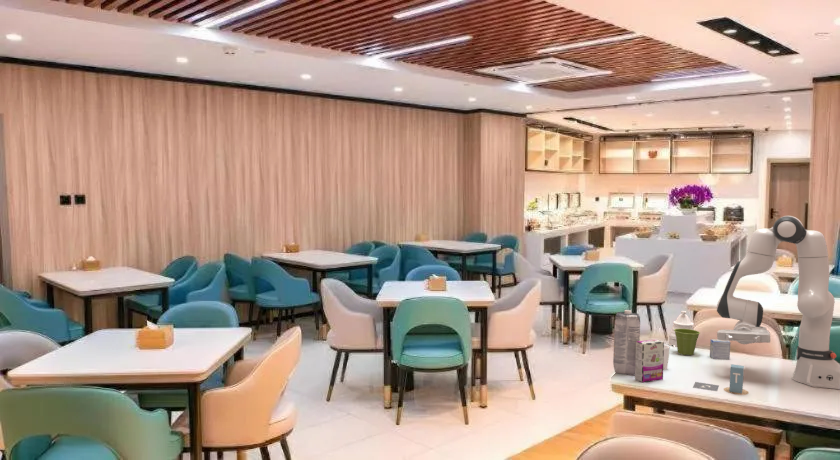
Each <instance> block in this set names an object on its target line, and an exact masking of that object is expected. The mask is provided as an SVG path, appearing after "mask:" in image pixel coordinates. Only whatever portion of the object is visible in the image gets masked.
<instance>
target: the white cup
mask: <svg viewBox="0 0 840 460" xmlns="http://www.w3.org/2000/svg"><path fill="white" fill-rule="evenodd" d="M669 357H670V346H668V345H665V344H664V359H663V371H665V370H668V364H669Z"/></svg>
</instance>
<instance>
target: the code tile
mask: <svg viewBox="0 0 840 460" xmlns="http://www.w3.org/2000/svg"><path fill="white" fill-rule="evenodd" d="M719 387H720V385H718V384H712V383H705V382H699V381H695V382H694V384H693V387H692V388H693V389H698V390H700V389H701V390H707V391H711V392H712V391H713V392H718V390H719Z"/></svg>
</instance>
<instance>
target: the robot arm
mask: <svg viewBox="0 0 840 460" xmlns="http://www.w3.org/2000/svg"><path fill="white" fill-rule="evenodd" d="M782 242H785V243H790V244H794V245H795V246H796V251H797V252H796V253H797V264H798V265H797V266H798V267H797V268H798V285H797V286H798V287H797V303H796V304H797V305H796V307H797V309H798V311H799V313H800V314H801V315H802V317H801V320H800V326H799V331H798V333H799V334H798V345H797V347H796V355H795V356H796V364H795V369H794V372H793V375H792V377H791V379H792V380H794V381H796V382H798V383H801V384H805V385H807V386H809V387H814V388H825V389H834V390H840V363H839V362H838V361H837V360H836V358H837V354H836V353H835V352H834V351H833V350H831V349H830V337H831V336H830V335H831V328H832V327H831V326H832V322H833V317H834V316H833V315H834V312H835V311H834V309H835V297H834V295H833V294H832V293H831V291H829V283H830V263H829V261H830V260H829V252H828V245H827V241H826V237H825V236H824V234H823V233H822V232H820V231H818V230H813V229H812V230H811V229H810V230H808V229H807V228H805V227H804V225H803V223H802V221H801V220H800V219H799V218H797V217H795V216H793V215H783V216H781V217H779V218H778V219H777V220H775V221H774V223H773V225H772V226H771V228H766V227H763V228H757V229H756V230H754V231H753V233H752V235H751V236H750V239H749V242H748V246H747V250H746V254H745V256H744V257H743V259H741V260H739V261H737V262H736V264H735V265H734V267H733V269H732V271H731V273H730V275H729V278H728V280H727V282H726V285H725V288H724V290H723V293H722V294H721V296H720V298H719V300H718V302H717V304H716V312H717V314H718V315H719V316H720V317H721V318H723V319H732V320H737V322H736V323H735V325H734V327H733V329H719V330H717V332H716V339H718V340H728V341H730V342H737V343H739V344H740V345H749V344H756V343H757V344H758V343H759V344H761V343H769V344H770V343H771V333H770V331H769V330H768V328H767V327H766V326H761V325H762V322H763V318H764V317H763V316H764V307H763V306H762V304H761V303H760V302H758V301H755V300H751V299H750V300H749V299H744V298H740V297H736V296H734V293H735V291H736V288H737V286H738V284H739V281H740V280H741V279H742V278H744V277H746V276H752V275H760V274H764V273H766V272H768V271H769V270H771V268H772V267H773V265H774V262H775V258H776V254H777V249H778V246H779V245H780V244H781V243H782Z"/></svg>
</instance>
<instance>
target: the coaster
mask: <svg viewBox="0 0 840 460" xmlns="http://www.w3.org/2000/svg"><path fill="white" fill-rule="evenodd" d="M729 388H730V386H728V387H724V388H723V391H724V392H726V393H728V394H733V395H738V396H742V395H743V396H744V395H748V394H749V393H750V392H749V391H748V390H746V389H744V388H743V391H742V394H741V393H735V392H729Z"/></svg>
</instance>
